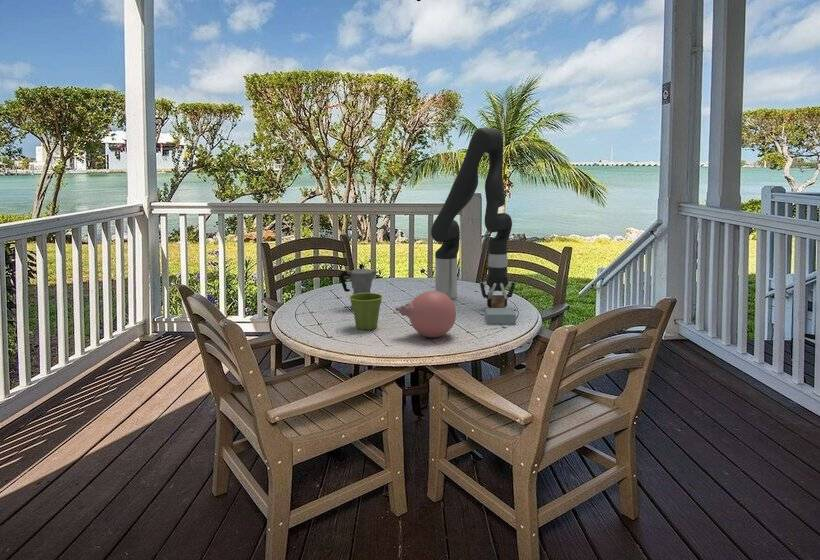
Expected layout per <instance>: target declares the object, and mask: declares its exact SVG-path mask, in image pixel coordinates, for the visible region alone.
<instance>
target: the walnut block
mask: <svg viewBox="0 0 820 560" xmlns="http://www.w3.org/2000/svg"><path fill="white" fill-rule="evenodd" d="M491 308H506V307H505V298H504V296H503V294H492V296H491Z"/></svg>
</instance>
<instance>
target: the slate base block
mask: <svg viewBox="0 0 820 560" xmlns="http://www.w3.org/2000/svg"><path fill="white" fill-rule="evenodd" d="M484 310H485V313H484V314H485V315H484V318H485V321H486V325H488V326H489V324H493V325H492V326H494V325H496V326H498V325H499V326H501V325H504V326H505V325H507V326H508V325H510V326H511V325H515V326H516V322H517V321H516V320H517V314H516V312H515V310H514V308H513V307H505V308H489V307H485V308H484Z"/></svg>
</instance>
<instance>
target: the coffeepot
mask: <svg viewBox="0 0 820 560" xmlns="http://www.w3.org/2000/svg"><path fill="white" fill-rule="evenodd" d="M377 273H378V274H379V271H377V270H373V269H368V268H364V263H360V264H359V268H357V269H352V270H342V271H341V273H340V274H339V276H338V278H339V280H340V283H341V285H342V288H343V291H344V292H350V291H351V289H350V288H348V287H347V283H346V279H345V277H346V276H347V277H350V282H351V283H350V284H351V288H352V290H353V292H352V295H353V294H358V293H372V292H371V289H372V283H373V280H374V278H375V277H376V275H377ZM350 304H351V303H350ZM350 310H352V311H353V307H352V304H351V305H350Z"/></svg>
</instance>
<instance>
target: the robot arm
mask: <svg viewBox="0 0 820 560" xmlns="http://www.w3.org/2000/svg"><path fill="white" fill-rule="evenodd" d="M484 154H487V155H488V161H489V166H488V171H487V173H486V174H487V175H486V179H485V183H484V191H485V192H484V194H485V200H486V201H485V202H486V207H485V213H484V226H485V228H486V230H487V232H490V233H496V235H495V236H494V237H492V238H491V239H489V241H488V258H487V278H486V280H485V281H480V282H479V287H480V290H481V295H482V297H483V299H485V298H486V306H487V308H491V296H492V295H494V292H501V295H503V296H504V298H505V308H508V307H507V306H508V299H509V298H512V297H513V293H514V291H515V287H516V283H515V282H514V281H509V280H508V265H509V263H508V261H509V259H508V242H509V239H510V236H511V230H512V229H513V228H512V227H513V220H512V218H511V216H510V214H508V213H507V212H499V213H498V211H499V208H501V207H504V205H505V204H506V197H505V189H504V179H503V165H504V164H503V163H504V160H503V159H504V138H503V134H502V132H501V131H500V129H497V128H490V127H489V128H488V127H479V128H477V129H476V130H475V131H474V132H473V133H472V135H471V139H470V140H469V144H468V148H467V150H466V153H465V156H464V159H463V162H462V163H461V166H460V168H459V171H458V173H457V175H456V177H455V178H454V182H453V184H452V186H451V188H450V191H449V193H448V195H447V197H446V200H444V201H445V202H443V206H442V208H441V209H440V211H439V212H438V215H437V217H436V218H435V219H434V222H433V223H432V226H431V229H430V234H431V236H430V237H431V238H432V240H433V241H434V242H436V243H441V246H440V247H439V248H438V249H437V250H436V251H435V253H434V254H435V256H434V257H435V261H434V265H435V267H434V268H435V269H434V272H435V273H434V291H439V292H442V293H444V294H446V295H447V296H448V297H449V298H450V299H451V300H454V299H456V298H457V297H458V252H459V250H460V239H461V236H460V235H461V229H460V225H459V223H458V222H457V220H455V219H456V217H457V215H459V213H460V212H461V211H462V210H464V208H465V207H466V206H467V205H468V204H469V203H470V202H471V200H472V198H473V197H474V195H475V192H476V191H477V189H478V186H479V185H478V184H479V171H478V169H479V164H480V162H481V160H482V158H483V156H484ZM487 286H488V287H489V289H488V292H487V293H486V290H485V288H487ZM507 286H508V287H509V288H508V292H507V291H506V287H507Z"/></svg>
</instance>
